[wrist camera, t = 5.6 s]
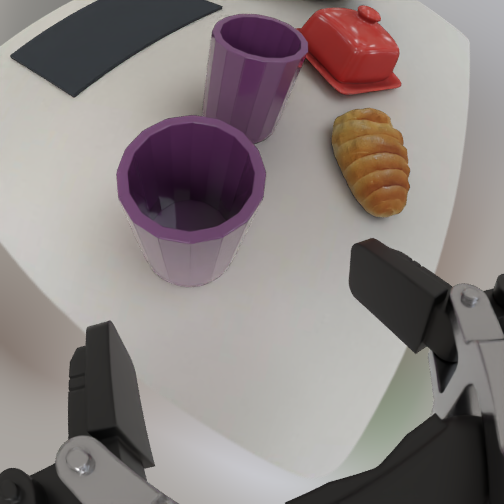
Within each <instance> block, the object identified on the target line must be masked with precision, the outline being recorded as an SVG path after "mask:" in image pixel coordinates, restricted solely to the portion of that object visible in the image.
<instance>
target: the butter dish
mask: <svg viewBox="0 0 504 504" xmlns="http://www.w3.org/2000/svg"><path fill="white" fill-rule="evenodd" d="M380 20H381V17H380V15H379V13H378V12H377V11H376V10H374V9H373V8H371V7H368V6H363V5H362V6H359V7H358V11H355V10H352V9H346V8H325V9H320V10H318V11H316V12H315V13H314V14H313V15H312V16H311V17H310V18H309V19H308V21H307V22H306V23H305V24H304V26H303V27H302V28H297V29H296V30H298V31H299V32H300V33H302V35H303V36H304V38H305V39H306V41H307V42H308V53H307V55H306V59H307V60H308V61H309V62H310V63H311V64H312V65H313V66H314V67H315V68H316V69H317V70H318V72H319V73H320V74H321V75H322V76H323V77H324V78H325V79H326V81H327V82H328V83H329V84H330V85H331V86H332V87H334V88H335V89H336V90H337V91H338V92H339V93H341V94H345V95H351V94H359V93H366V92H372V91H379V90H387V89H393V88H398V87H400V86H401V82H400V80H399V79H398V78H397V77H396V75H395V74H394V73H393V72H392V71H393V69H394V67H395V65H396V62H397V60H398V57H399V48H398V46H397V44H396V43H395V41H394V40H393V38H392V37H391V36H390V35H389V34H388V32H387V31H386V30H385V29H384V28H383V27H382V26H381V25H380V24H378V23H377V22H378V21H380Z"/></svg>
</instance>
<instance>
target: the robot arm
mask: <svg viewBox="0 0 504 504" xmlns="http://www.w3.org/2000/svg"><path fill="white" fill-rule="evenodd" d="M349 287H350V290H351V292H352V294H353V296H354V297H355V298H356V299H357V300H358V301H359V302H360V303H361V304H362V305H364V306H365V307H366V308H367V309H368V310H369V311H370V312H371V313H372V314H373V315H374V316H376V317H377V318H378V319H379V320H380V321H381V322H382V323H383V324H384V325H385V326H386V327H387V328H389V329H390V330H391V331H392V332H393V333H394V334H395V335H396V336H397V337H398V338H399V339H400V340H401V341H402V342H404V343H405V344H406V345H407V346H408V347H409V348H410V349H411V350H412V351H413V352H414V353H418V352H419V351H421V350H422V349H424V348H425V347H429V348H430V351H429V353H428V360H429V366H430V373H431V381H432V390H433V398H434V402H433V408H432V412H431V416H430V417H429V418H428V419H427V420H426V421H424V422H423V423H422V424H420V425H419V426H418V427H416V428H415V429H414V430H413V431H411V432H410V433H408V434H407V435H406V436H405V437H404V438H403V439H402V441H401V442H400V443H399V444H398V445H397V446H396V447H395V449H394V450H393V451H392V452H391V453H390V454H389V455H388V456H387V457H386V459H385V460H384V461H383V462H382V463H381V464H380V465H379V466H377V467H376V468H374V469H372V470H368V471H365V472H362V473H359V474H356V475H353V476H349V477H346V478H343V479H339V480H335V481H332V482H328V483H326V484H324V485H322V486H320V487H319V488H316V489H314V490H312V491H310V492H308V493H306V494H303V495H301V496H299V497H297V498H295V499H292V500H290V501H288V502H286V503H285V504H504V274H501V275H500V276H498V278H497V281H496V284H495V286H494V289H490V290H486V291H482V290H481V289H480V288H478V287H476V286H474V285H470V284H457V285H455V286H453V287H452V286H451V285H449V284H448V283H447V282H445V281H443V280H442V279H441V278H439V277H438V276H436V275H435V274H434V273H432V272H431V271H429V270H428V269H426V268H425V267H423V266H422V267H421V265H420V264H419V263H417V262H416V261H412V259H411V258H410V257H408V256H407V255H405V254H404V253H402V252H400V251H397V250H394V249H391V248H389V247H387V246H386V245H384V244H383V243H381V242H380V241H378V240H376V239H374V238H371V239H368V240H365V241H362V242H359V243H356V244H354V245H353V246H352V249H351V259H350V273H349ZM69 377H70V380H69V391H70V392H69V394H68V432H69V433H68V434H69V437H68V440H67V441H66V442H65V443H64V444H63V445H62V446H61V447H60V449H59V451H58V453H57V456H56V461H55V463H54V464H53V465H51V466H49V467H47V468H45V469H43V470H41V471H39V472H37V473H35V474H33V475H30V476H29V475H27V474H26V473H24V472H23V471H22V470H19V469H16V468H9V469H6V470H4V471H3V472H2V473H1V474H0V504H178V503H177V502H175V501H174V500H172V499H171V498H169V497H168V496H166V495H165V494H163V493H162V492H160V491H159V490H158V489H156V488H155V487H154V486H152V485H151V484H149V483H148V482H147V479H146V475H145V471H144V468H149V467H154V466H155V464H154V460H153V456H152V452H151V448H150V444H149V439H148V435H147V431H146V426H145V421H144V417H143V411H142V406H141V401H140V395H139V390H138V384H137V378H136V372H135V369H134V365H133V363H132V360H131V358H130V356H129V354H128V352H127V350H126V348H125V346H124V344H123V342H122V340H121V338H120V336H119V334H118V332H117V330H116V328H115V326H114V324H113V323H112V322H111V321H107V322H103V323H100V324H96V325H93V326H89V327H87V330H86V346H83V347H79V348H77V349H76V351H75V353H74V355H73V357H72V359H71V361H70V370H69Z"/></svg>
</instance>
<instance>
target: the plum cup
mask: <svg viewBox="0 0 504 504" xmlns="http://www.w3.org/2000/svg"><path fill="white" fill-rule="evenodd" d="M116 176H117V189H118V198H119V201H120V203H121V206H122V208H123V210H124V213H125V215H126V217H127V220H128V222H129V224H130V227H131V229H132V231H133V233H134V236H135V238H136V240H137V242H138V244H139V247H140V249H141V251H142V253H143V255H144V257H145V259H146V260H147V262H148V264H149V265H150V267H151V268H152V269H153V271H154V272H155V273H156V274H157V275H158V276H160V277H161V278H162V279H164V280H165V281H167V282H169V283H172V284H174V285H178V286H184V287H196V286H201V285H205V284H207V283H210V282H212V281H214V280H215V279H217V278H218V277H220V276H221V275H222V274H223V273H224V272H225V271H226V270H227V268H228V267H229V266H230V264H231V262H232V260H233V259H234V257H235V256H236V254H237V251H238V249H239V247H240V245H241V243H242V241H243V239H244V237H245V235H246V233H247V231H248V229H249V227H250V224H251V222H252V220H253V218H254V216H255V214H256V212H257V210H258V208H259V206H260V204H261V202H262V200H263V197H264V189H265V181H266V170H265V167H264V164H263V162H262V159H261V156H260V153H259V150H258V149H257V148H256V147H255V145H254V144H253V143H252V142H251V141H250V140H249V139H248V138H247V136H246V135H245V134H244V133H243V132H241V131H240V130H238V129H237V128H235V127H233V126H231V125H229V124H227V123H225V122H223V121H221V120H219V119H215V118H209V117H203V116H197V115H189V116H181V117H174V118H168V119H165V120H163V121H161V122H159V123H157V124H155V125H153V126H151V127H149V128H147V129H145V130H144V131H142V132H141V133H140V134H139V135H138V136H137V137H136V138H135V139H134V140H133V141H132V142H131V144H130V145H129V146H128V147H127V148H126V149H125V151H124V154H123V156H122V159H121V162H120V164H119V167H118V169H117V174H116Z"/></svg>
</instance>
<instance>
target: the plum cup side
mask: <svg viewBox="0 0 504 504" xmlns="http://www.w3.org/2000/svg"><path fill="white" fill-rule="evenodd" d="M307 53H308V42H307V41H306V39H305V38H304V36H303V35H302V33H300V32H299V31H298V30H296V29H295V28H294V27H292V26H291V25H289V24H287V23H285V22H282V21H280V20H278V19H275V18H272V17H267V16H263V15H257V14H238V15H233V16H228V17H225V18H224V19H222V20H220V21H218V22H217V23H216V24H215V26H214V28H213V30H212V36H211V43H210V51H209V58H208V66H207V75H206V83H205V92H204V101H203V117H209V118H215V119H219V120H221V121H223V122H225V123H227V124H229V125H231V126H233V127H235V128H237V129H238V130H240V131H241V132H243V133H244V134H245V135H246V136H247V138H248V139H249V140H250V141H251V142H252V143H253V144H255V143H258V142H261V141H263V140H265V139H267V138H268V137H269V136H270V135H271V134H272V133H273V132H274V130H275V128H276V126H277V125H278V122H279V120H280V117H281V115H282V112H283V110H284V108H285V105H286V103H287V100H288V98H289V96H290V93H291V91H292V88H293V86H294V84H295V81H296V79H297V76H298V74H299V72H300V69H301V67H302V65H303V62H304V60H305V58H306V55H307Z"/></svg>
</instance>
